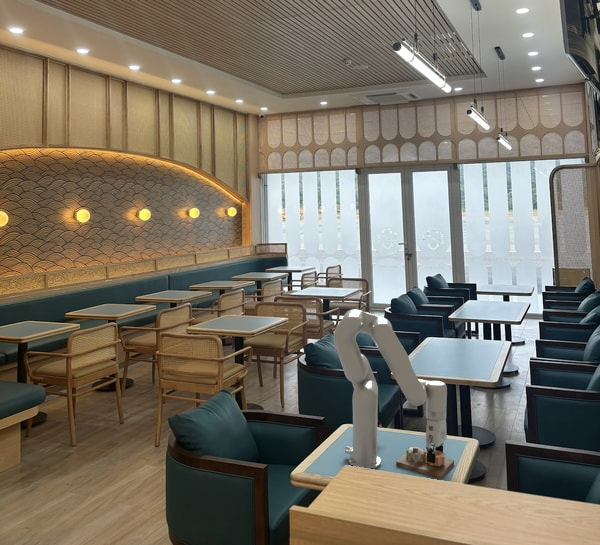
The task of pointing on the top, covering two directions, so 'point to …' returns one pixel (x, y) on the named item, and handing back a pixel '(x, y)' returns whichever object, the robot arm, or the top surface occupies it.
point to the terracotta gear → (438, 458)
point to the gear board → (422, 463)
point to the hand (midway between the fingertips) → (435, 458)
